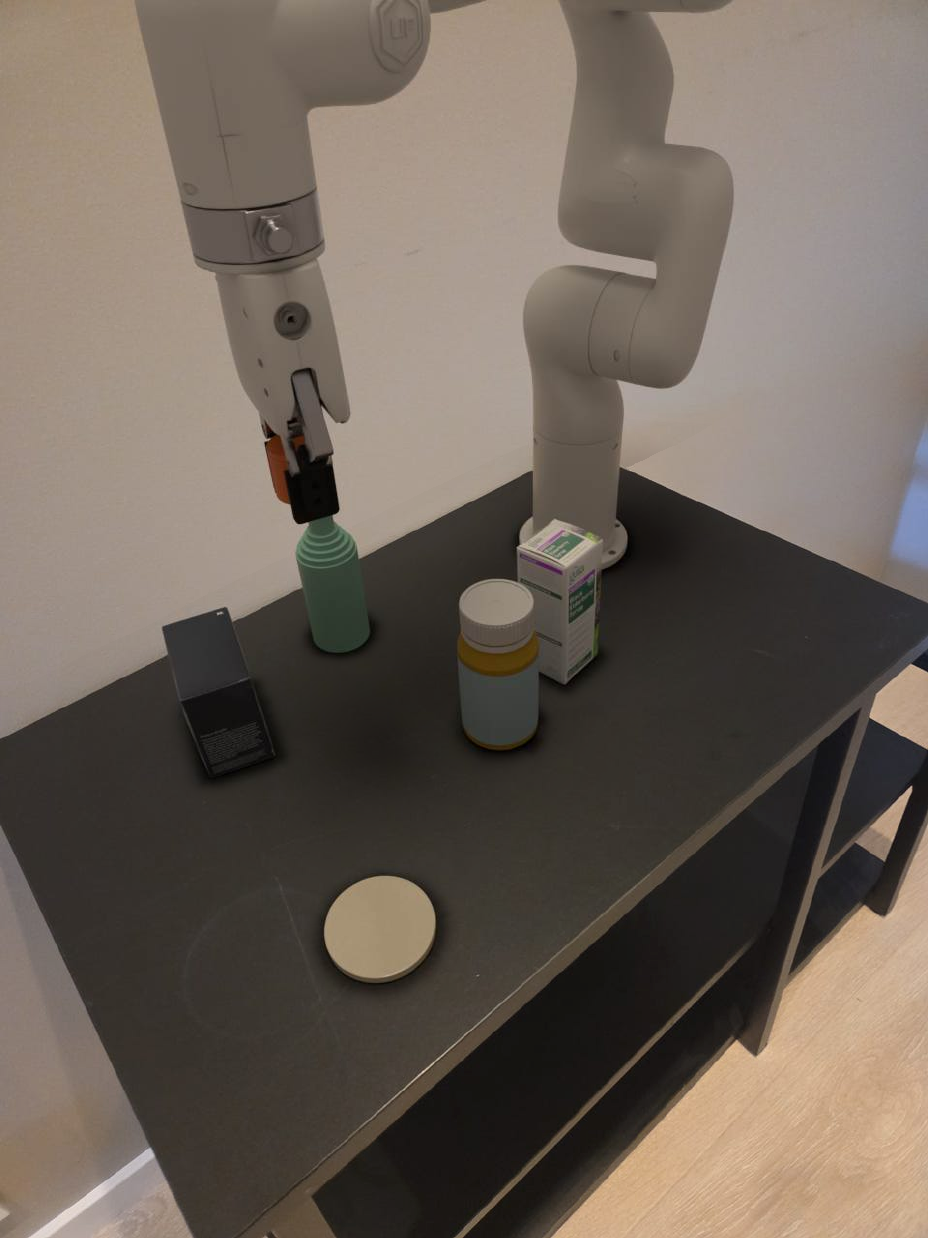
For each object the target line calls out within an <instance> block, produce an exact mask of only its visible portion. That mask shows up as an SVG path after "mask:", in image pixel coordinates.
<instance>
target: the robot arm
mask: <svg viewBox="0 0 928 1238" xmlns="http://www.w3.org/2000/svg"><path fill="white" fill-rule="evenodd" d="M486 1H487V0H134V5H135V10H136V16H137V21H138V25H139V28H140V33H141V38H142V42H143V46H144V50H145V51H144V52H145V55H146V59H147V64H148V67H149V72H150V76H151V80H152V85H153V88H154V89H153V90H154V93H155V98H156V102H157V106H158V110H159V115H160V118H161V123H162V127H163V132H164V135H165V136H164V137H165V140H166V144H167V148H168V152H169V153H168V154H169V157H170V161H171V166H172V170H173V175H174V177H175V182H176V187H177V191H178V194H179V198H180V199H179V200H180V204H181V209H182V213H183V219H184V223H185V226H186V230H187V235H188V239H189V243H190V247H191V251H192V256H193V260H194V263H195V264H196V266H197V267H198V268H199V269H202V270H204V271H208V272H211V273H215V275H214V276H215V277H214V278H215V281H216V284H217V289H218V294H219V299H220V304H221V309H222V315H223V321H224V323H225V329H226V333H227V338H228V342H229V347H230V350H231V355H232V359H233V362H234V366H235V370H236V373H237V376H238V380H239V382H240V384H241V387H242V388H243V391H244V393H245V394H246V396H247V397H248V399H249V400H250V401H251V403H252V404H253V406H254V408H255V409H256V410H257V412H258V415H259V420H260V427H261V430H262V433H263V436H264V438H265V439H266V441H263V445H264V449H265V453H266V458H267V459H266V460H268V457H267V456H268V453H267V448H266V446H267V443H268V441H269V440H270V439H271V438H272V437H274V436H275V435H277V434H278V435H280V436H281V441H282V445H283V449H284V453H285V458H286V462H287V466H288V469H289V470H285V471H284V476H285V481H286V486H287V491H288V496H289V501H290V504H289V505H290V511H291V515H292V516H291V517H292V519H293V520H294V523H295V524H297V525H304V524H308V522H311V521H314V520H318V519H321V518H325V517H328V516H332V515H333V516H334V515H338V514H339V512H340V510H341V508H340V501H339V493H338V489H337V482H336V477H335V469H334V461H333V455H334V453H335V452H334V451H335V450H334V447H333V443H332V440H331V436H330V433H329V430H328V427H327V424H326V420H325V417H324V412H323V410H324V411H325V412H326V413H327V415H329V417H330V418H331V419H332V420H333V421H334V422H335V424H339V423H340V424H342V425H343V424H346V423H348V421H349V420H350V418H351V415H352V413H351V406H350V400H349V394H348V389H347V384H346V378H345V372H344V367H343V362H342V361H343V360H342V357H341V351H340V345H339V341H338V336H337V331H336V330H337V329H336V326H335V321H334V316H333V312H332V307H331V303H330V299H329V295H328V291H327V287H326V282H325V280H324V276H323V273H322V268H321V265H320V262H319V260H318V259H317V258H319V257H321V256H322V254H324V253H325V250H326V241H325V235H324V228H323V227H324V226H323V221H322V214H321V206H320V198H319V192H318V185H317V178H316V171H315V163H314V158H313V148H312V141H311V135H310V134H311V133H310V128H309V119H308V115H309V113H310V112H311V111H312V110H313V109H316V108H317V109H318V108H330V107H360V106H371V105H375V104H379V103H383V102H384V101H387V100H389V99H391V98H393V97H394V96H396V95H398V94H400V92H402V91H403V90H405V89H406V88H407V87H408V85H410V84H411V83H412V81H413V80H414V79H415V77H416V76H417V75H418V74H419V71H420V70H421V68H422V67H423V63H424V62H425V59H426V56H427V54H428V50H429V47H430V41H431V33H432V32H431V31H432V19H431V14H440V13H444V12H450V11H454V10H457V9H462V8H465V7H470V6H472V5H477V4H480V3H482V2H486ZM557 1H558V3H559V6H560V8H561V11H562V13H563V14H562V15H563V16H564V19H565V22H566V25H567V27H568V30H569V31H568V32H569V34H570V37H571V43H572V46H573V50H574V56H575V62H576V82H575V91H574V99H573V106H572V114H571V120H570V125H569V132H568V138H567V143H566V149H565V150H566V151H565V156H564V162H563V169H562V176H561V182H560V187H559V196H558V204H557V225H558V229H559V231H560V233H561V236H562V237H563V238H564V239H565V240H566V241H567V242H568V243H570V244H571V245H574V246H575V247H578V248H581V249H584V250H587V251H591V252H596V253H602V254H606V255H612V256H617V257H618V256H619V257H624V258H629V259H636V260H641V261H648V262H653V263H655V267H656V269H655V270H656V275H655V278H652V277H648V276H643V275H636V274H630V273H626V272H624V271H619V270H611V269H606V268H601V267H595V266H589V265H579V264H565V265H559V266H555V267H552V268H550V269H547V270H546V271H544V272H542V273H541V274H540V275H539V276H537V278H536V279H534V281H533V283H532V284H531V285H530V288H529V289H528V291H527V294H526V296H525V299H524V302H523V303H524V304H523V308H522V331H523V335H524V341H525V347H526V352H527V356H528V361H529V367H530V374H531V385H532V516H531V517H530V518H528V519H527V520H526V521H525V522H524V523H523V524H522V526H521V528H520V531H519V535H518V536H519V537H518V539H519V545H521V544H522V543H523V542H525V541H526V540H527V539H529V538H530V537H531V536H532V535H534V534H535V533H537V532H538V531H540V530H541V529H543V528H544V527H546V526H547V525H549V524H550V522H551V521H553V520H554V519H556V520H559V521H562V522H565V523H568V524H571V525H574V526H577V527H579V528H582V529H584V530H586V531H588V532H590V533H592V534H594V535H597V536H598V537H600V538H602V540H603V549H602V570H605V569H608V568H610V567H611V566H613V565H615V564H616V563H617V562H619V560H620V559H622V558H623V556H624V555H625V553H626V551H627V548H628V538H629V537H628V533H627V530H626V528H625V526H624V525H623V524H622V523H621V521H620V520H618V519H617V505H618V496H619V495H618V493H619V482H620V468H621V454H622V443H623V431H624V430H623V429H624V419H625V418H624V417H625V405H624V399H623V394H622V390H621V388H620V384H619V382H625V383H628V384H632V385H636V386H642V387H646V388H652V389H658V390H659V389H660V390H663V389H671V388H673V387H676V386H678V385H679V384H681V383H682V382H683V381H684V380H685V379H686V378H687V377H688V376H689V374H690V373H691V371H692V369H693V367H694V366H695V363H696V361H697V358H698V355H699V352H700V349H701V346H702V343H703V339H704V335H705V332H706V328H707V324H708V319H709V315H710V311H711V307H712V302H713V299H714V294H715V290H716V286H717V281H718V278H719V274H720V271H721V266H722V261H723V257H724V253H725V249H726V245H727V241H728V237H729V233H730V228H731V223H732V217H733V211H734V203H735V201H734V200H735V199H734V198H735V187H734V178H733V173H732V169H731V168H730V165H729V164H728V162H727V160H726V159H725V158H724V157H723V156H722V155H721V154H720V153H718V152H716V151H714V150H712V149H708V148H705V147H701V146H694V145H684V144H676V143H666V139H665V138H666V130H667V125H668V119H669V113H670V108H671V104H672V103H671V102H672V99H673V93H674V86H675V75H674V67H673V63H672V59H671V56H670V53H669V50H668V47H667V45H666V42H665V40H664V38H663V35H662V33H661V31H660V29H659V28H658V26H657V23H656V21H655V20H654V18H653V16H652V14H651V13H685V14H686V13H687V14H705V13H710V12H715V11H718V10H722V9H723V8H724V7H726V6H728V5H729V4H731V3H732V2H733V1H734V0H557ZM618 381H619V382H618ZM303 435H304V436H305V443H304V444H302V445H299V446H298V448H297V452H296V449H295V445H294V441H293V438H295V437H299V436H303ZM267 463H268V464H267V465H269V462H268V461H267ZM268 468H269V472H270V474H271V471H270V467H269V466H268ZM270 478H271V479H272V476H271V475H270ZM271 483H272V484H273V481H272V480H271ZM272 487H273V488H274V486H273V485H272Z"/></svg>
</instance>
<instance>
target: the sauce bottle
mask: <svg viewBox="0 0 928 1238" xmlns="http://www.w3.org/2000/svg"><path fill="white" fill-rule="evenodd" d="M307 524H308V525H307V527H306V529H305V531H304V532H303V534H302V535H301V537H300V539H299V541H298V542H297V544H296V549H295V554H294V555H295V559H296V560H295V561H296V564H297V569H298V574H299V578H300V583H301V587H302V592H303V597H304V601H305V606H306V610H307V615H308V620H309V624H310V629H311V633H312V639H313V642H314V644H315V645H316V646H317V647H318V648H319V649H321V650H322V651H324V652H326V653H333V654H340V653H348V652H351V651H354V650H356V649H358V648H360V647H361V646H362V645H363V644H365V643H366V641H367V640H368V639H369V637H370V633H371V628H370V622H369V614H368V609H367V603H366V596H365V595H366V594H365V590H364V583H363V577H362V571H361V564H360V557H359V551H358V545H357V542H356V541H355V539H354V538H353V536H352V535H351V533H349V532H348V531H347V530H345V529H344V528H343V527H342V526H341V525H339V524H338V523H337V522H335V521H334V515H332V516H328V517H325V518H321V519H318V520H314V521H311V522H308V523H307Z"/></svg>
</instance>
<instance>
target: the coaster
mask: <svg viewBox="0 0 928 1238" xmlns="http://www.w3.org/2000/svg"><path fill="white" fill-rule="evenodd" d="M436 934H437V920H436V912H435V908H434V906H433V904H432V901H431V899H430V898H429V896H428V895H427V894H426V893H425V891H424V890H423V889H422V888H421V887H419V886H418V885H417V884H415V883H414V882H412V881H409V880H408V879H405V878H404V877H403V878H402V877H398V876H394V875H393V876H392V875H377V876H373V877H368V878H365V879H362V880H360V881H357V882H356V883H353V884H352V885H351V886H349V887H347V888H346V889H345V890H343V891H342V893H341V894H340V895H338V896H337V898H336V899H335V901H334V902H333V903H332V905H331V907H330V908H329V910H328V912H327V915H326V917H325V921H324V927H323V939H324V942H325V947H326V950H327V953H328V956H329V958H330V960H331V962H333V964H334V965H335V967H336V968H337V969H338V970H339V971H340V972H342V973H343V974H344V975H346V976H348V977H349V978H351V979H353V980H356V981H360V982H363V983H369V984H381V983H388V982H392V981H395V980H398V979H401V978H403V977H405V976H406V975H408V974H410V973H411V972H413V971H414V970H415V969H417V968H418V967H419V966H420V965H421V963H423V961H424V960H425V959H426V958H427V957H428V955H429V953H430V951H431V949H432V947H433V946H434V942H435V939H436Z"/></svg>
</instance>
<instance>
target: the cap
mask: <svg viewBox="0 0 928 1238" xmlns="http://www.w3.org/2000/svg"><path fill="white" fill-rule="evenodd" d="M267 441H268V443H267V446H266V448H267V453H268V456H267V455H266V458H267V457H268V459H267V463H268V462H269V464H268V468H269V467H270V469H269V472H270V471H271V473H270V477H271V476H272V478H271V482H272V481H273V483H272V487H273V486H274V487H273V490H274V494H275V495H276V498H277V499H278V500H279V501H280V502H282V503H283V504H286V505H290V501H289V496H288V491H287V486H286V481H285V476H284V471H285V470H289V469H288V466H287V462H286V458H285V453H284V449H283V445H282V441H281V436H280V435H278V434H277V435H275V436H274V437H272V438H270V439H268V440H267ZM293 441H294V445H295V449H296V452H297V448H298V446H299V445H302V444H304V443H305V436H304V435H303V436H299V437H295V438H293Z"/></svg>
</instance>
